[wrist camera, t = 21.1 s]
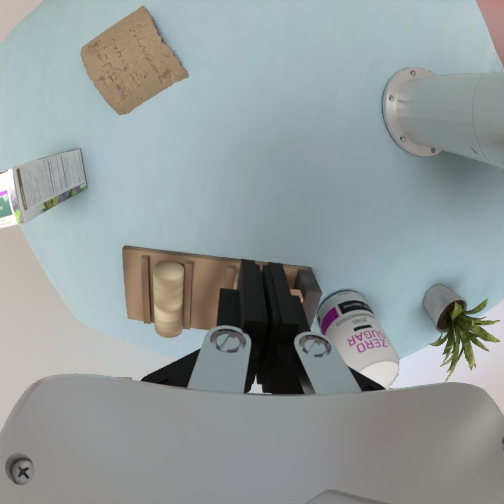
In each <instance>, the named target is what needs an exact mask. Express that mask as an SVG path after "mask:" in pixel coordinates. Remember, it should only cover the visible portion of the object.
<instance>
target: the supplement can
mask: <svg viewBox="0 0 504 504" xmlns="http://www.w3.org/2000/svg"><path fill="white" fill-rule="evenodd" d="M317 319H318V324H319V327H320V330H321V333H322V334H323V335H325V336H327V337H328V338H329V339H331V340H332V342H333V343H334V344H335V346H336V348H337V349H338V351H339V353H340V354H341V356H342V358H343V359H344V361H345V363H346V365H347V366H349V367H351V368H352V369H354V370H356V371H358V372H359V373H361V374H363V375H364V376H366V377H368V378H370V379H371V380H373V381H375V382H377V383H379V384H380V385H382V386H383V387H384V388H385V389H387V388H388V387H389V386H390V385H392V384H393V383H394V381H395V380H396V378H397V377H398V375H399V357H398V354H397V352H396V351H395V349H394V347H393V345H392V344H391V342H390V340H389V339H388V337H387V335H386V334H385V332H384V330H383V329H382V327H381V325H380V324H379V322H378V320H377V319H376V317H375V315H374V314H373V312H372V310H371V309H370V307H369V306H368V304H367V302H366V301H365V299H364V298H363V296H361V295H360V294H358V293H356V292H351V291H346V292H340V293H338V294H335V295H333V296H331V297H330V298H329V299H327V300H326V301H325V302H324V303H323V305H322V306H321V307H320V309H319V312H318V316H317Z"/></svg>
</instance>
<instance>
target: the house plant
mask: <svg viewBox="0 0 504 504" xmlns="http://www.w3.org/2000/svg"><path fill="white" fill-rule="evenodd" d="M423 304H424V306H425V308H426V310H427V312H428V314H429V316H430V318H431V320H432V322H433V324H434V326H435V328H436V330H437V331H438V332H440V333H446V332H448V333H447V335H446V336H445V337H444V338H443V339H441V336H442V334H441V336H440V338H439V339H438V340H437V341H436V342H434V343H433V344H430V345H433V346H439V345H441V344H443V343H444V342H445V341H446V339H447V338H448V341H447V344H446V347H445V349H444V353H443V354H446V353H447V355H446V358H445V359H444V361H445V360H446V359H447V358H448V356H449V354H450V350H451V348H452V346H453V351H452V352H451V353H453V355H452V356H451V358H450V359H449V360H448V361H447V362H445V363H443V364H442V365H441V366H443V365H445V364H447V363H449V362H450V361H451V360H452V362H451V366H450V368H449V370H451V371H450V374H449V375H448V377H447V379H446V381H447V380H448V378H449V377H450V376H451V374H452V372H453V371H454V369H455V366H456V363H457V362H458V360H459V358H460V356H461V354H462V352H463V350H464V353H465V358H466V359H467V361H468V363H469V367H470V369H471V370H472V366H473V365H474V366H475V367H476V365H475V360H474V356H473V351H472V346H471V343H470V340H471V341H472V342H473V343H474V344H475V345H477V346H478V347H481V348H482V349H484V350H486V351H489V350H488V349H487V348H486V347H485V346H484V345H483V344H482V343H481V342H480V341H478V340H477V339H476V338H475V337H480V338H481V339H483V340H484V341H492V342H499V340H498V339H497V338H495V337H494V336H492V335H491V334H489V333H488V332H486V331H485V330H484V329H483V328H481V327H480V326H478V325H491V324H495V323H497V322H498V321H500V320H496V321H481V320H480V319H483V318H485V317H483V318H473V317H469V316H466V315H465V314H475V313H477V312H479V311H481V310H483V309H484V307H485V306H486V304H487V300H485V301H483V302H482V303H481V304H480V305H478V306H477V307H476V308H474V309H473V310H470V311H466V310H467V302H466V301H465V299H463V298H462V297H460V296H459V295H457V294H455V293H454V292H452V291H451V290H449V289H448V288H446V287H444V286H443V285H440V284H437V285H434V286H433V287H431V288H430V289H429V290H428V291H427V293H426V294H425V296H424V300H423ZM454 328H455V332H454ZM470 331H472V332H473V333H474V334H473V333H472V332H470ZM455 336H456V343H455ZM440 339H441V340H440ZM460 339H461V342H462V345H463V346H462V350H461V352H460V355H459V357H458V354H459V344H460ZM469 339H470V340H469ZM428 344H429V343H428ZM449 370H448V371H449Z"/></svg>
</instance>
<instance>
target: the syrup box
mask: <svg viewBox="0 0 504 504" xmlns="http://www.w3.org/2000/svg"><path fill="white" fill-rule="evenodd" d="M85 189H87V185H86V180H85V175H84V169H83V163H82V157H81V151H80V149H76V150H72V151H67V152H63V153H59V154H56V155H52V156H48V157H44V158H41V159H37V160H34V161H31V162H27V163H24V164H21V165H18V166H15V167H12V168H9V169H6V170H4V171H1V172H0V228H4V227H8V226H13V225H18V224H23V223H26V222H28V221H30V220H31V219H33V218H35V217H36V216H38V215H40V214H42V213H43V212H45V211H47V210H48V209H50V208H52V207H54V206H56V205H57V204H59V203H61V202H63V201H65V200H66V199H68V198H70V197H72V196H74V195H76V194H78V193H80V192H82V191H83V190H85Z"/></svg>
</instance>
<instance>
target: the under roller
mask: <svg viewBox="0 0 504 504" xmlns="http://www.w3.org/2000/svg"><path fill="white" fill-rule="evenodd" d="M183 282H184V267H183V266H182V265H181V264H179V263H176V262H171V261H164V262H160V263H157V264H156V265H155V266H154V267H153V291H154V317H155V330H156V332H157V334H159V335H160V336H162V337H166V338H172V337H176V336H178V335H179V334H180V333H181V332H182V313H183Z"/></svg>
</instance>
